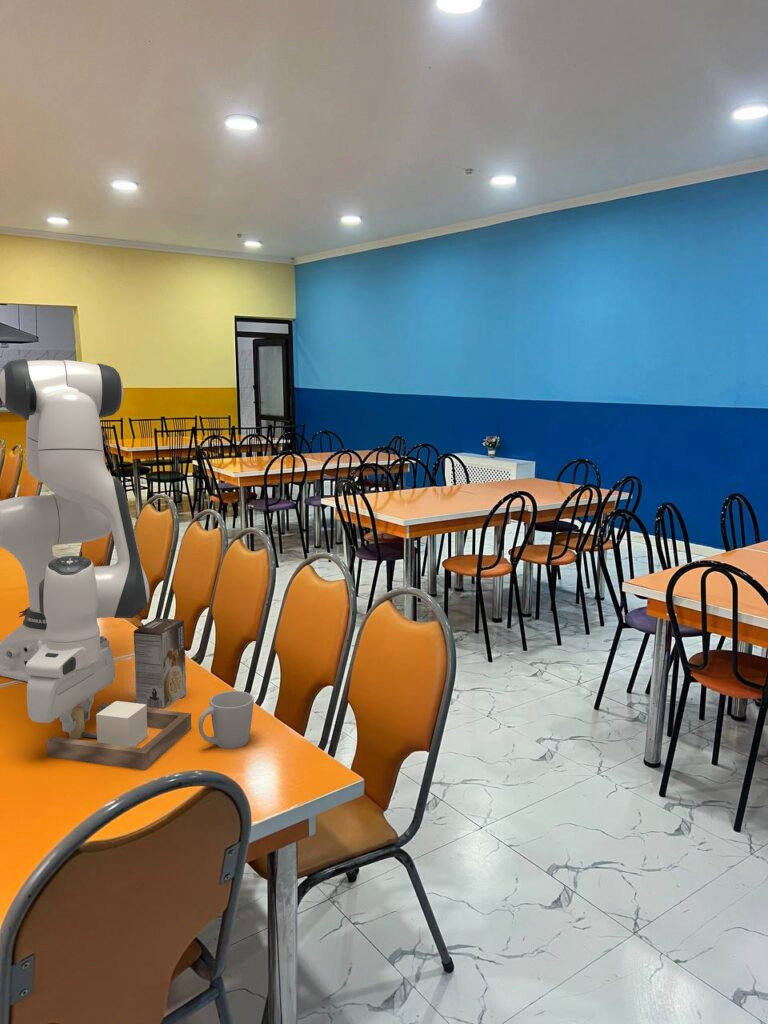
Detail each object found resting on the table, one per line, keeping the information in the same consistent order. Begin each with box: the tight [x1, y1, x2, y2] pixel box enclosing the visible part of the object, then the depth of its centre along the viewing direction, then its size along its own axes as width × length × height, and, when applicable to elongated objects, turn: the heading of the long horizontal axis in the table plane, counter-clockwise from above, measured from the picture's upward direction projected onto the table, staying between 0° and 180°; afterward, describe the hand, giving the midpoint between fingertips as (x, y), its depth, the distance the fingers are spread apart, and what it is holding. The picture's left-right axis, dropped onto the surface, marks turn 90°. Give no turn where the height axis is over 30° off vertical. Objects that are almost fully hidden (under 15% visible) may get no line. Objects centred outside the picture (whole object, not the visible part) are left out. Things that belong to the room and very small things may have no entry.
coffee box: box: [133, 617, 187, 710], centre depth 147 cm, size 9×6×16 cm
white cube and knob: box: [68, 700, 148, 747], centre depth 130 cm, size 13×6×6 cm, turn 78°
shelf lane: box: [45, 702, 192, 771], centre depth 129 cm, size 18×16×4 cm
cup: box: [198, 690, 255, 750], centre depth 129 cm, size 8×10×8 cm
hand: (76, 725), depth 131 cm, fingers closed on white cube and knob, 3 cm apart
